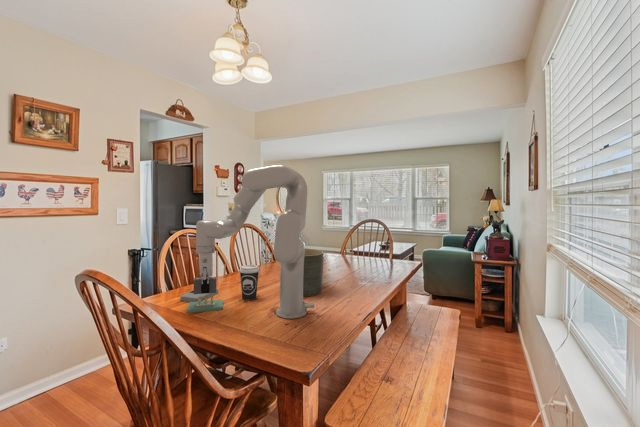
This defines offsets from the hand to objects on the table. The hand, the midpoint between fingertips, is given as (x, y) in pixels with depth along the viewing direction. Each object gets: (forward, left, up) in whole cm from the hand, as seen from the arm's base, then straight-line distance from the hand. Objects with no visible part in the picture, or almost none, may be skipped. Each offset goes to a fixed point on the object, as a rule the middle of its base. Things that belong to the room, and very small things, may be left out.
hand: (205, 291), depth 130 cm
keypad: (+3, -15, -8) cm, 17 cm away
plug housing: (0, 0, 0) cm, 0 cm away
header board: (0, 0, -7) cm, 7 cm away
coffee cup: (-19, -8, -7) cm, 22 cm away
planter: (-46, -13, -7) cm, 48 cm away
